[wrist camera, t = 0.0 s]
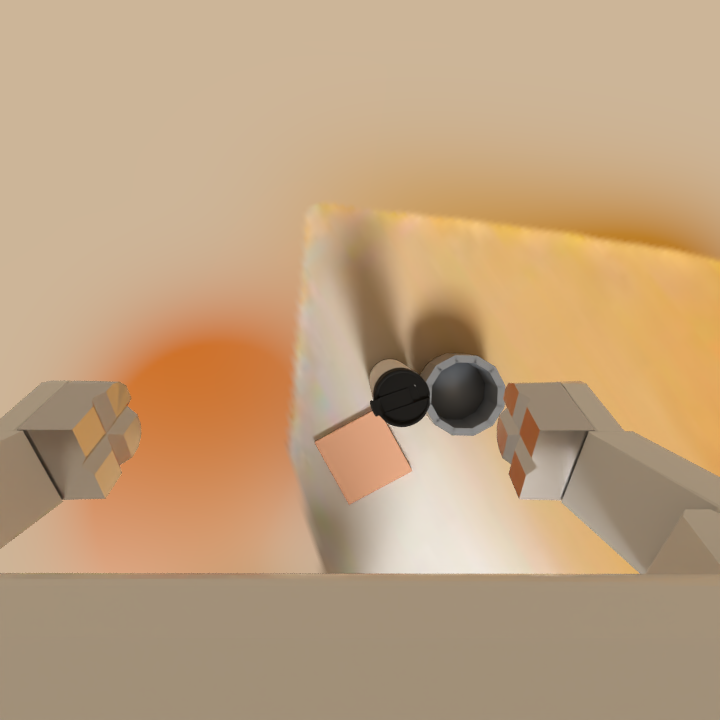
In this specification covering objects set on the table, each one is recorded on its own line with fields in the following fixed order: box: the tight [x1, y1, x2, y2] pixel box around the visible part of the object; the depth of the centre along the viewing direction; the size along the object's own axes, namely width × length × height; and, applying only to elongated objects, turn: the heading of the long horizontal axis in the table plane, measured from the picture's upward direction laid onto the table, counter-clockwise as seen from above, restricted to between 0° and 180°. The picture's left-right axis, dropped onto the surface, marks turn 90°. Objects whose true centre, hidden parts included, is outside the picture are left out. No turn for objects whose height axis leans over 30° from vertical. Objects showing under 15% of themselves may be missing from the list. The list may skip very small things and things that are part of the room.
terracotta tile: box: [315, 411, 412, 504], centre depth 64 cm, size 11×11×1 cm
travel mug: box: [369, 359, 430, 427], centre depth 54 cm, size 6×7×20 cm
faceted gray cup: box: [420, 353, 505, 436], centre depth 60 cm, size 11×11×7 cm
